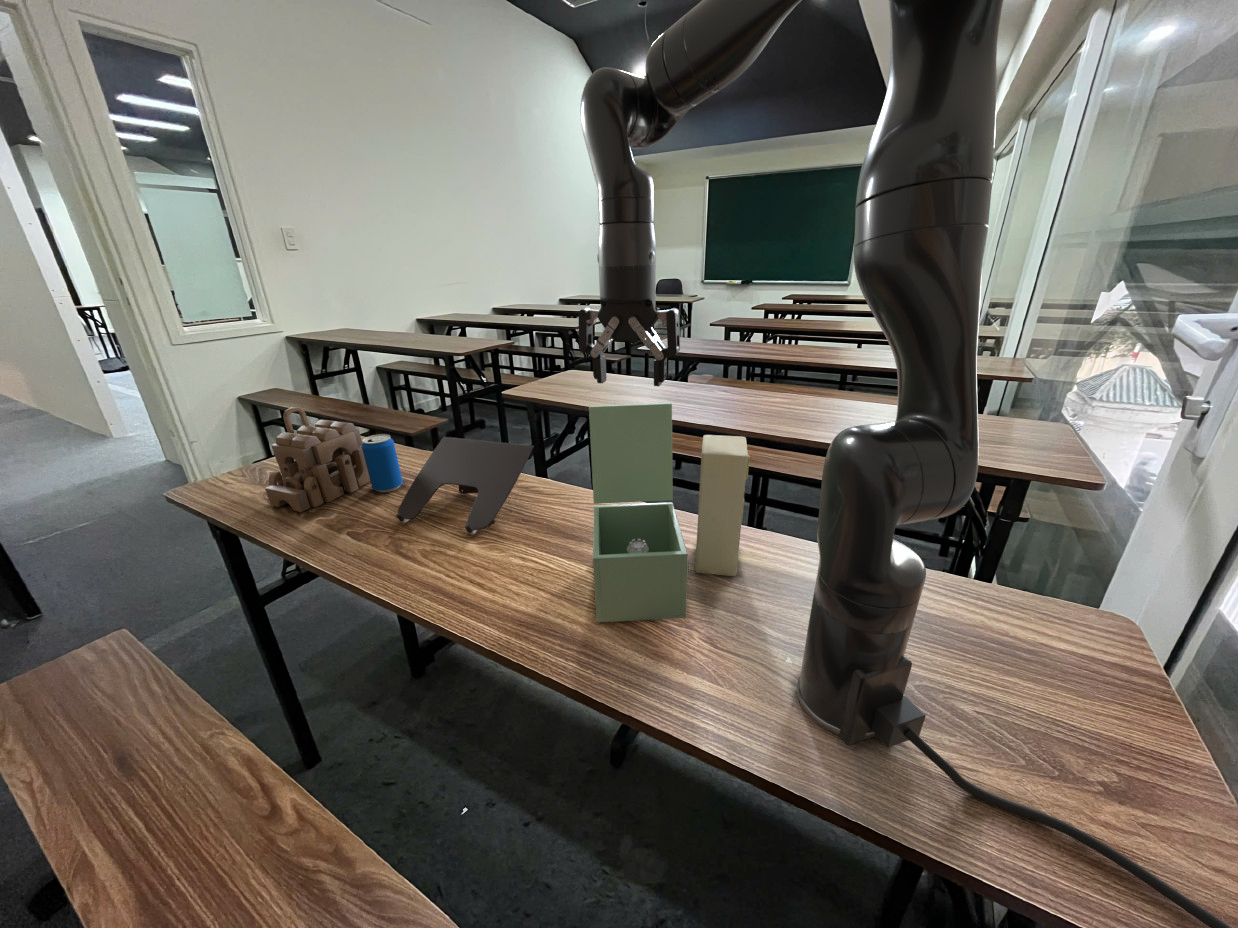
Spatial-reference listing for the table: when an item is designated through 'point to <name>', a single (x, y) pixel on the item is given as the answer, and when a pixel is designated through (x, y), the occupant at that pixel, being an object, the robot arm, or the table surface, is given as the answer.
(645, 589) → the chest
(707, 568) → the toy refrigerator
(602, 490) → the lid
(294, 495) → the wooden puzzle
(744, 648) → the table surface
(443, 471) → the laptop tray
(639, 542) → the rook chess piece
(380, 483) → the beverage can
